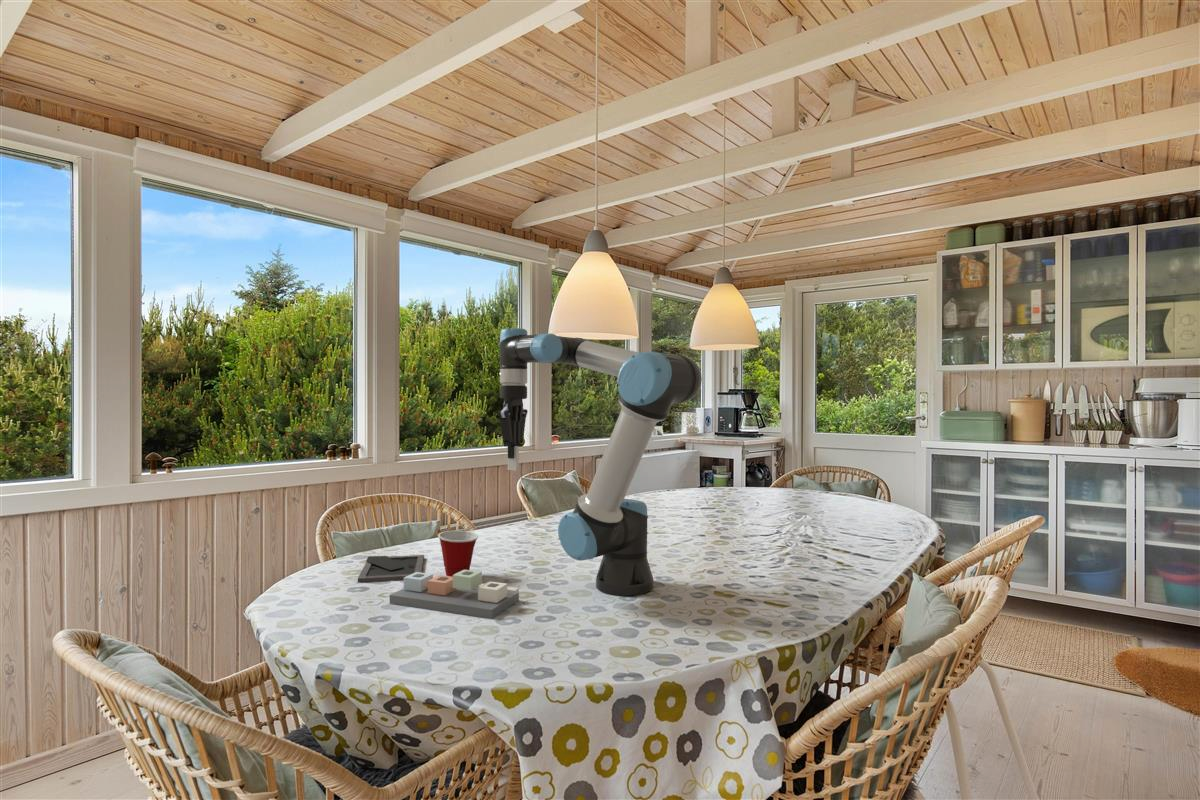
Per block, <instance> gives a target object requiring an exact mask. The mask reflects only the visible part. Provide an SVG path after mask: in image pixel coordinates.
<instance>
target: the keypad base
mask: <svg viewBox="0 0 1200 800" xmlns="http://www.w3.org/2000/svg"><path fill="white" fill-rule="evenodd" d="M435 577H436V576H435ZM435 577H434V576H433V578H435ZM483 584H484V583H482V584H481V585H479V586H477V587H476V588H474V589H472V590H465V589H458V588H457V590H455V591H453V592H451V593H449V594H447V595H446V596H445V595H437V594H430V593H428V589H426V590H424V591H422V592H416V591H409V590H404V587H403V588H402V589H398V590H397V591H395V592H393V593H391V594H389V604H391V603H393V605H398V604H399V605H400V606H404V605H406V606H405V607H411V606H413V607H412V608H418V607H420V608H419V609H424V608H425V609H426V610H431V609H432V610H431V611H437V610H438V611H439V612H444V613H452V614H458V615H464V616H470V617H471V616H473V617H479V618H484V619H485V618H486V619H491V620H492V619H494V618H496V617H497V616H498V615H500V614H501V613H503V612H504V611H506V610H507V609H508V608H510V607H511V606H512V605H514V604H516V603H517V602H518V600H520V599H519V598H520V588H519V587H512V586H507V597H505V598H504V599H502V600H501V601H499V602H497V603H494V602H487V601H480V600H478V587H480V586H482V585H483ZM515 602H516V603H515ZM502 611H503V612H502ZM499 613H500V614H499Z"/></svg>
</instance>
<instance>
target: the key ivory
mask: <svg viewBox="0 0 1200 800" xmlns="http://www.w3.org/2000/svg"><path fill="white" fill-rule="evenodd" d="M482 584H483V585H482V586H480V587H478V600H480V601H487V602H494V603H497V602H499V601H501V600H502V599H504V598H505V597H507V587H508V583H504V582H498V581H487V582H485V583H482Z"/></svg>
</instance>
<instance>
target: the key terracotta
mask: <svg viewBox="0 0 1200 800" xmlns="http://www.w3.org/2000/svg"><path fill="white" fill-rule="evenodd" d="M455 590H457V588H453V577H451V576H446V575H441V574H439V575H437V576H435V578H433V579H430V580H428V593H430V594H437V595H445V596H446V595H447V594H449V593H451V592H453V591H455Z"/></svg>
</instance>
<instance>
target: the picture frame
mask: <svg viewBox="0 0 1200 800" xmlns="http://www.w3.org/2000/svg"><path fill="white" fill-rule="evenodd" d="M424 560H425V554H416V555H413V554H412V555H411V554H410V555H395V556H393V555H392V556H387V555H369V556H368V557H367V558H366V560H365V561H366V562H365V564H364V565H363V568H362V570H361V571H360V573H359V575H358V576H357V583H358V582H361V583H374V582H373V581H378V582H389V581H388V580H394V581H404V577H406V576H408V575H411V574H413V573H415V572H420V573H423V572H422V571H423V567H424V562H423V561H424ZM422 566H423V567H422Z"/></svg>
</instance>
